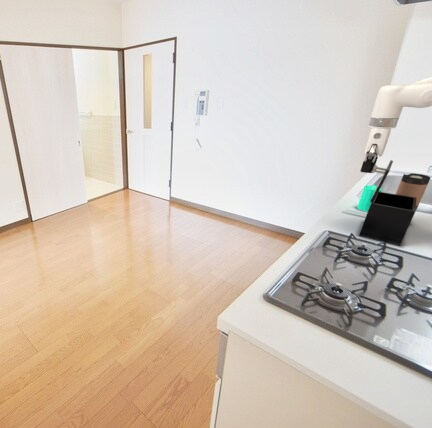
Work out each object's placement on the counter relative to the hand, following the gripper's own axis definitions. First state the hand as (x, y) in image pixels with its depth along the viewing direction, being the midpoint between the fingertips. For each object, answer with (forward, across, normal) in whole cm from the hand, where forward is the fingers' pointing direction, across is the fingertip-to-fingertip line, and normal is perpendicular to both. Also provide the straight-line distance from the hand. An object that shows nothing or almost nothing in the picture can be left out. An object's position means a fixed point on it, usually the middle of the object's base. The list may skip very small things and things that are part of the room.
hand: (367, 169), depth 107 cm
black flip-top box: (+24, 0, -10) cm, 26 cm away
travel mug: (+24, +16, -14) cm, 32 cm away
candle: (+24, +24, -3) cm, 34 cm away
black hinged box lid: (+4, 0, -5) cm, 7 cm away
